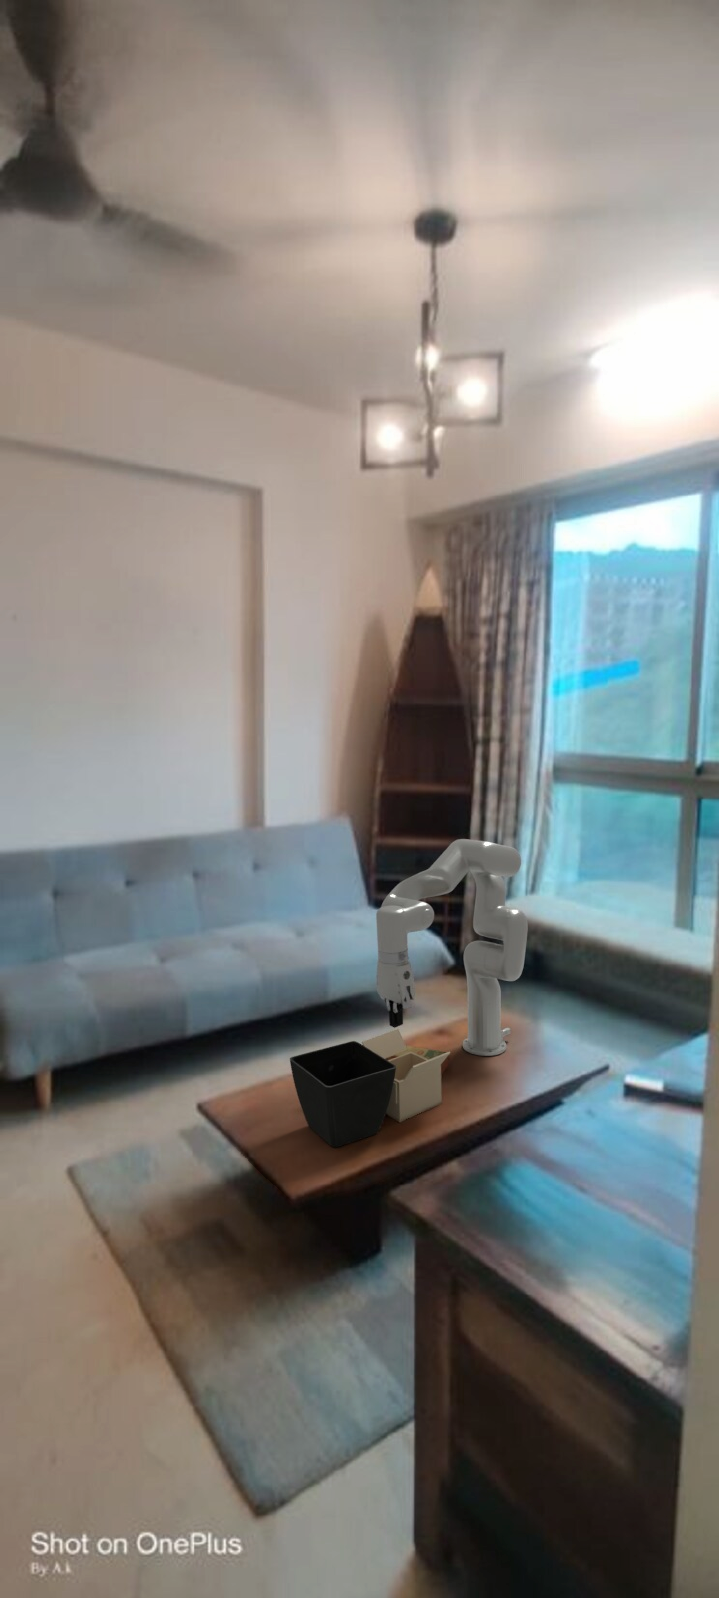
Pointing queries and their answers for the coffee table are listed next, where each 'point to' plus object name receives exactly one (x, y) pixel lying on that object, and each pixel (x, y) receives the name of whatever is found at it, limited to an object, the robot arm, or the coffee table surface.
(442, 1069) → the carton
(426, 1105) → the shipping box
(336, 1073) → the flower pot
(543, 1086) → the coffee table surface
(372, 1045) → the far flap
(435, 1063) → the near flap
